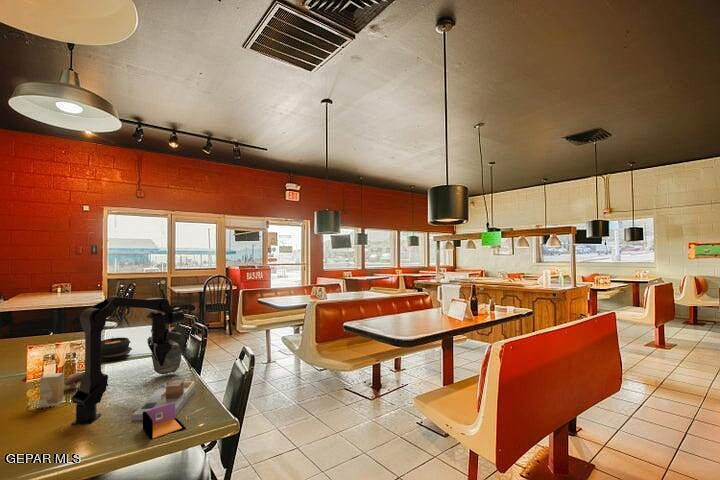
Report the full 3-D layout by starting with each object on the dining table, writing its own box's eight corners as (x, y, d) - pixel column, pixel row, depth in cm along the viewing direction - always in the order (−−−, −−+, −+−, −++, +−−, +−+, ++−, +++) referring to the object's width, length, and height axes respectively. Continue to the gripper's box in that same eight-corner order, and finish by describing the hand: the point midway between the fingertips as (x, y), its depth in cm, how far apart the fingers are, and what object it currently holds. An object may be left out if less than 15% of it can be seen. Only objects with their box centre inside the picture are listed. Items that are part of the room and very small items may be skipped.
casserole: (89, 354, 205) (89, 340, 206) (126, 347, 219) (126, 334, 219) (98, 363, 188) (98, 348, 188) (137, 355, 202) (137, 341, 202)
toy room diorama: (138, 431, 118) (138, 411, 118) (176, 418, 126) (176, 400, 126) (147, 445, 109) (147, 423, 109) (187, 430, 118) (187, 410, 118)
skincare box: (38, 409, 134) (38, 377, 135) (45, 404, 139) (45, 373, 139) (58, 407, 136) (58, 375, 136) (64, 402, 140) (64, 372, 141)
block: (179, 398, 137) (179, 385, 137) (165, 399, 136) (165, 386, 137) (183, 392, 142) (183, 380, 142) (170, 393, 141) (170, 381, 141)
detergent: (180, 368, 178) (180, 320, 179) (182, 372, 172) (182, 322, 173) (151, 374, 171) (151, 323, 171) (151, 378, 165) (152, 326, 166)
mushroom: (60, 389, 153) (60, 375, 153) (81, 383, 160) (81, 369, 160) (68, 393, 149) (68, 378, 149) (90, 386, 156) (90, 372, 157)
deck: (173, 418, 126) (173, 406, 126) (132, 421, 124) (132, 409, 124) (194, 391, 150) (194, 381, 150) (159, 393, 148) (159, 383, 148)
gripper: (185, 327, 148) (185, 364, 147) (174, 320, 162) (174, 354, 161) (155, 332, 140) (155, 370, 140) (147, 324, 154) (147, 359, 154)
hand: (159, 363), depth 149 cm, fingers open, 9 cm apart
